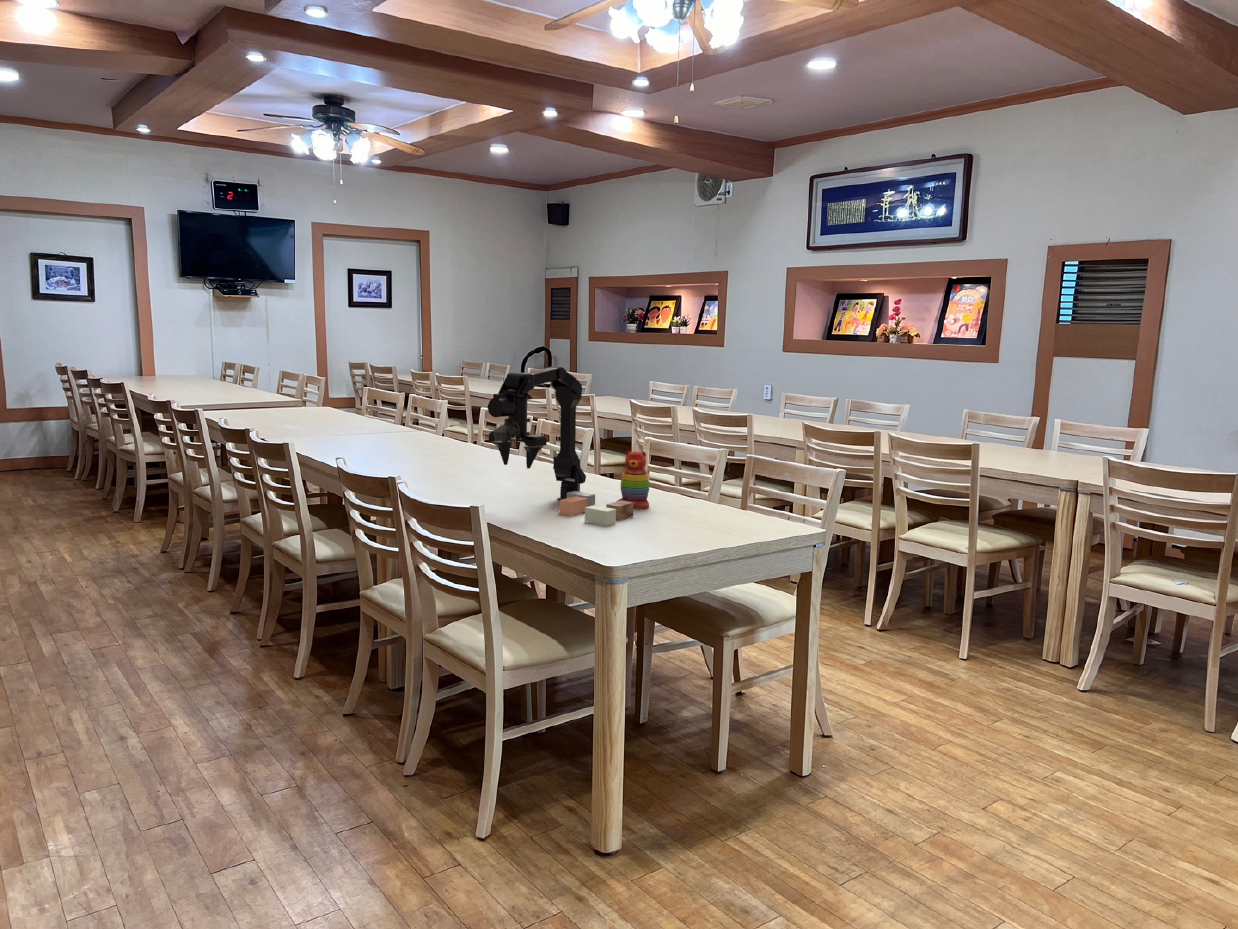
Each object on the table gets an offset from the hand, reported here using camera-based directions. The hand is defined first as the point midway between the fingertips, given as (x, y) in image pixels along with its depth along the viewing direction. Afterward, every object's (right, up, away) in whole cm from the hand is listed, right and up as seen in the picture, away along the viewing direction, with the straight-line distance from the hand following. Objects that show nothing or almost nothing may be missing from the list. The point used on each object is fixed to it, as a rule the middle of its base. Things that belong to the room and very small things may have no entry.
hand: (516, 466), depth 264 cm
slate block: (+19, -13, +15) cm, 27 cm away
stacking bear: (+36, -13, +20) cm, 43 cm away
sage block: (+25, -17, -7) cm, 31 cm away
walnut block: (+31, -16, +2) cm, 35 cm away
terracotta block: (+17, -14, +5) cm, 23 cm away
